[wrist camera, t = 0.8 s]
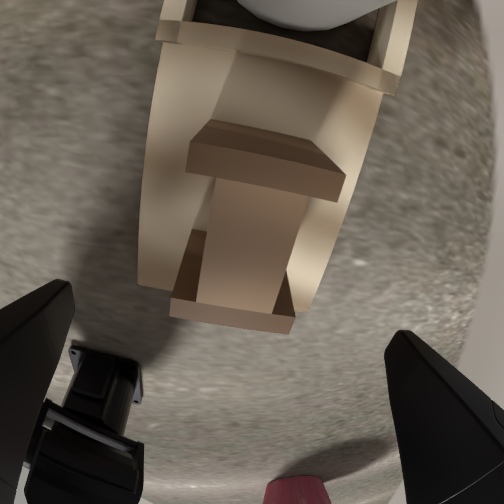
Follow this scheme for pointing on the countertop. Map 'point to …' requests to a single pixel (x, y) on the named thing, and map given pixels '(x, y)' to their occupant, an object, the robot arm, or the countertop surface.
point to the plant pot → (296, 491)
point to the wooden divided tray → (254, 163)
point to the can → (311, 12)
